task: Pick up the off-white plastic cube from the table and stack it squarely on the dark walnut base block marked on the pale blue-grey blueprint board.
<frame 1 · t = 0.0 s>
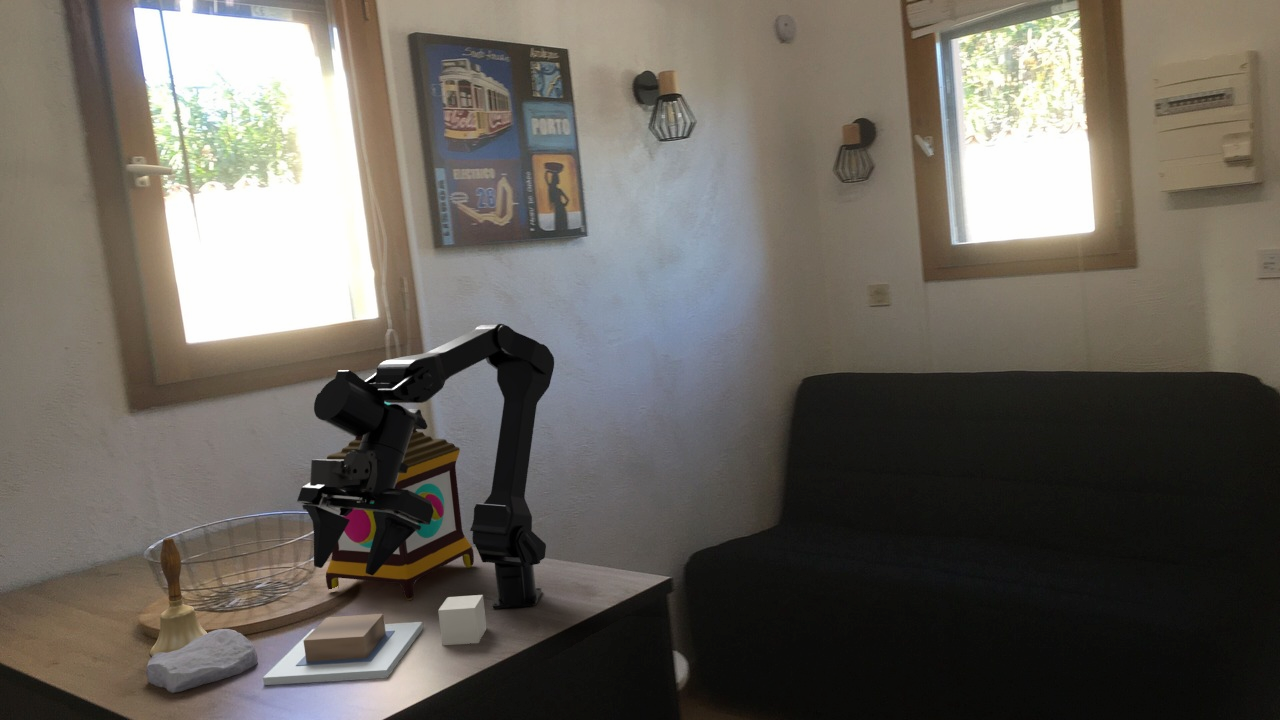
hand: (342, 570, 117), 15 cm above the table, tool tilted 35°, fingers open, 9 cm apart
decorative lantern: (403, 580, 160), on the table
blueprint board: (348, 655, 129), on the table
plastic cube: (464, 637, 132), on the table
stone block: (207, 676, 127), on the table
hand bell: (182, 648, 138), on the table
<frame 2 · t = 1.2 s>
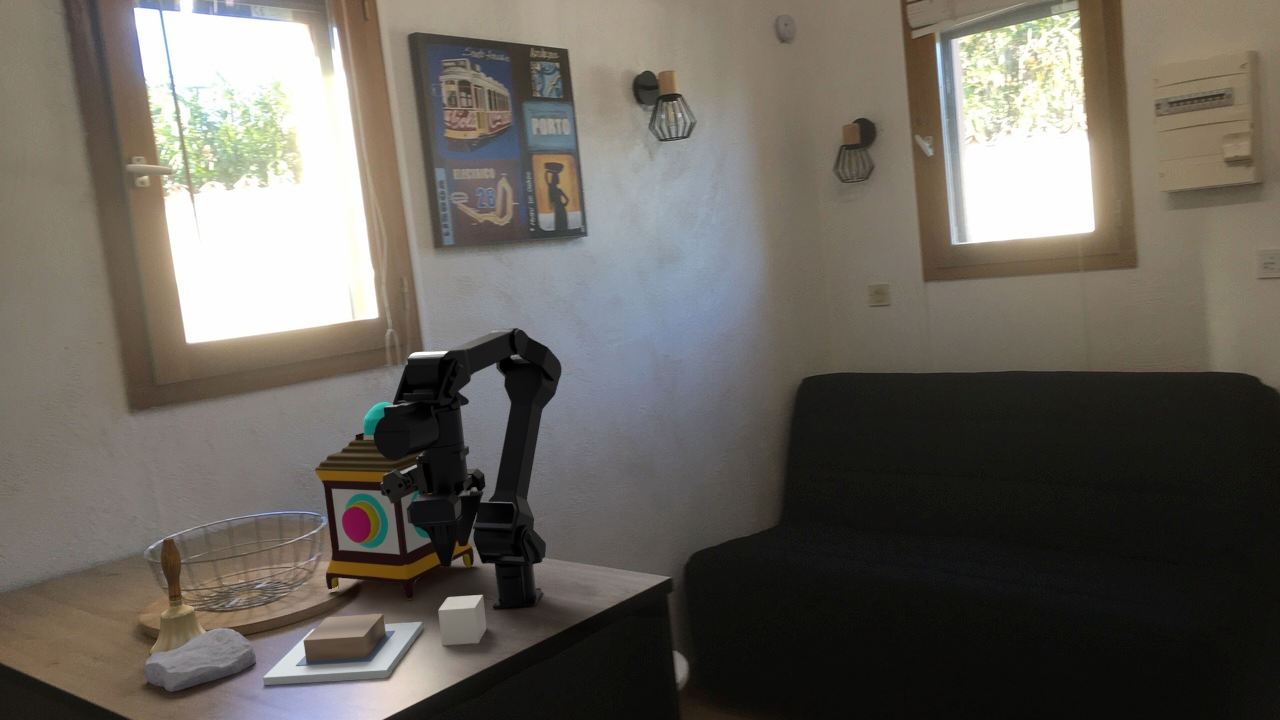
hand: (455, 556, 131), 11 cm above the table, tool pointing down, fingers open, 9 cm apart
nothing on the table moved.
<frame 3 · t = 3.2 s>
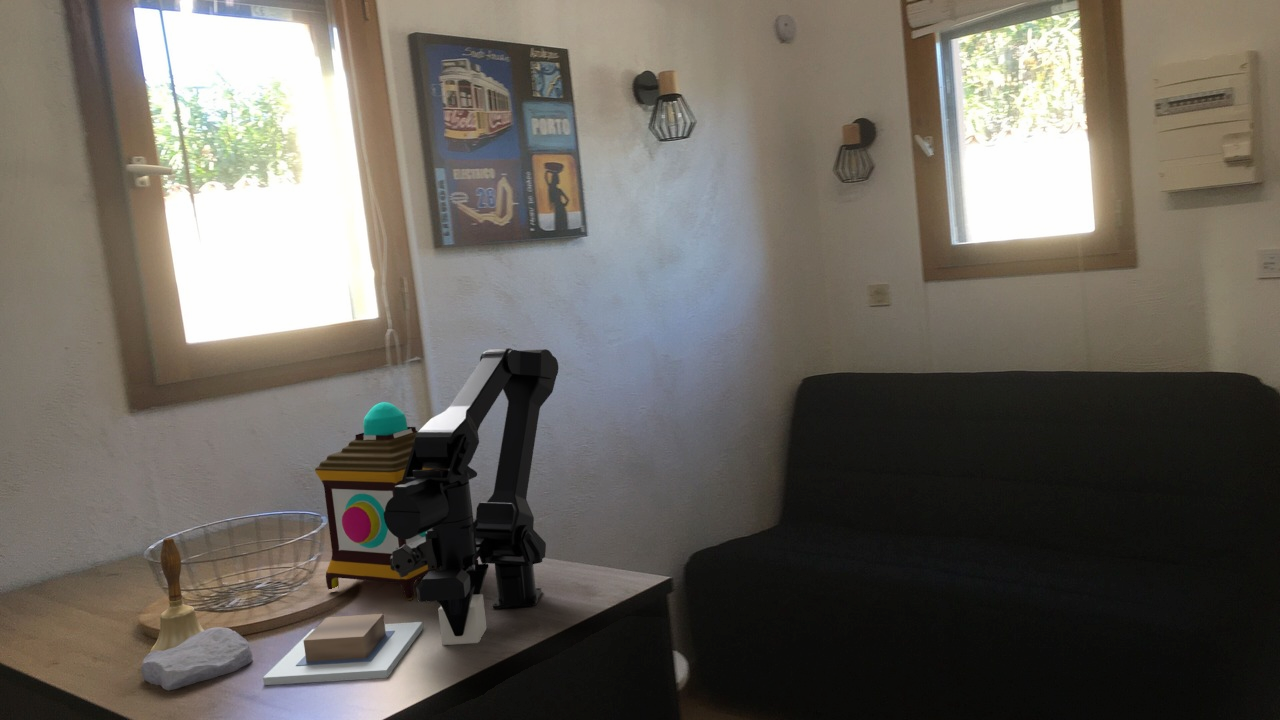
hand: (463, 628, 132), 1 cm above the table, tool pointing down, fingers closed on plastic cube, 5 cm apart
plastic cube: (464, 636, 132), on the table, touching gripper
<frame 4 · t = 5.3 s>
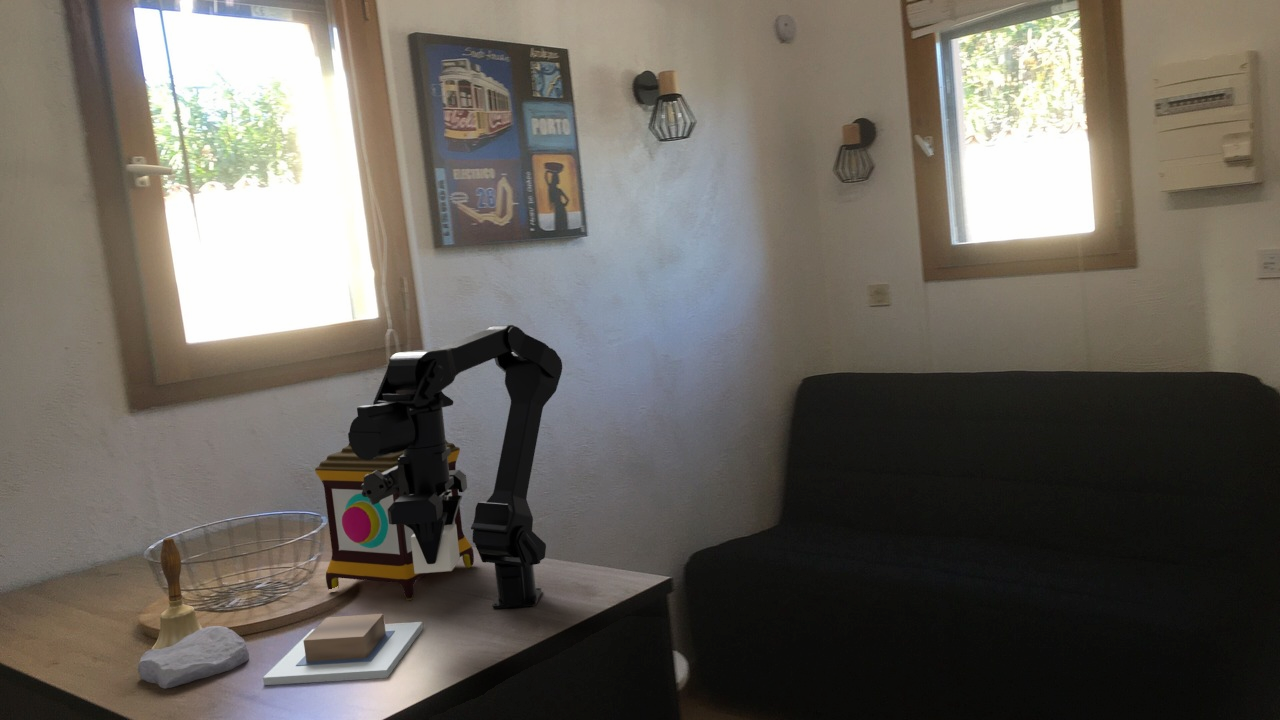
hand: (436, 557, 130), 12 cm above the table, tool pointing down, fingers closed on plastic cube, 5 cm apart
plastic cube: (437, 566, 130), point 10 cm above the table, touching gripper
when the fingers open (7 cm above the table, at t = 7.7 s): plastic cube drops 1 cm, resting on blueprint board.
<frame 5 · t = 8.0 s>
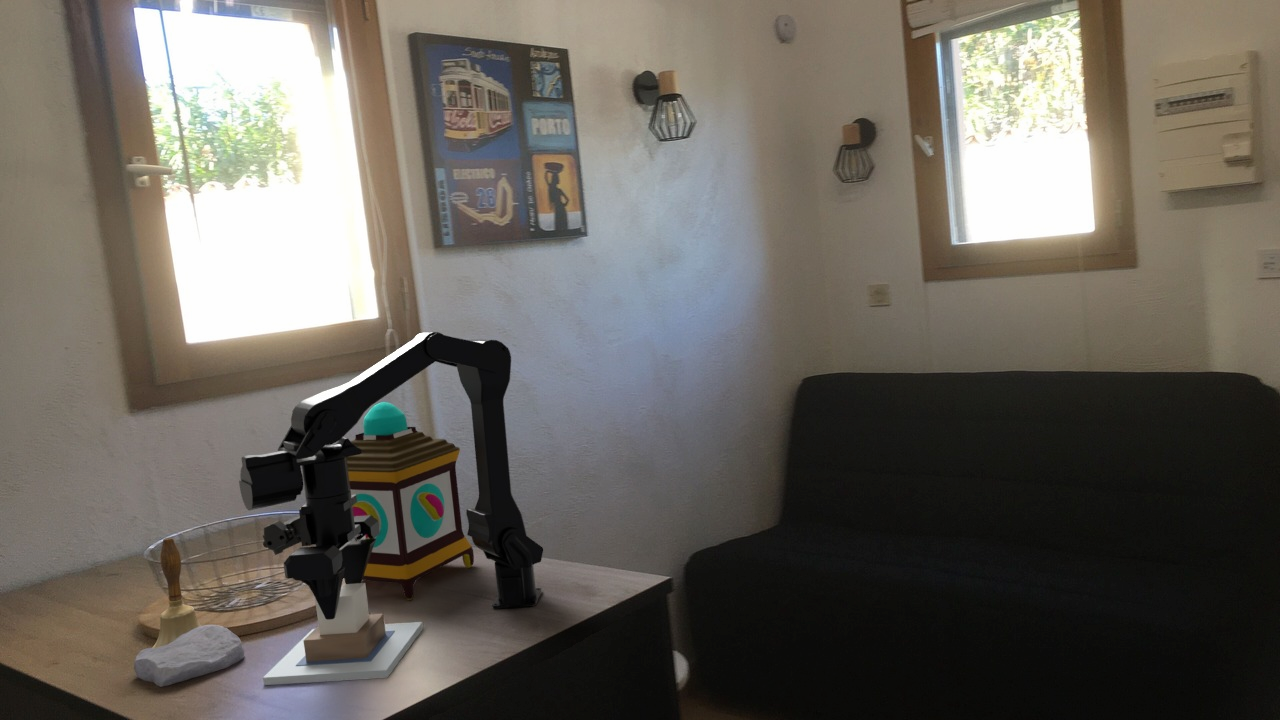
hand: (342, 607, 128), 7 cm above the table, tool pointing down, fingers open, 8 cm apart
plastic cube: (345, 626, 129), point 4 cm above the table, touching blueprint board
stone block: (195, 671, 130), on the table
everything else where it was.
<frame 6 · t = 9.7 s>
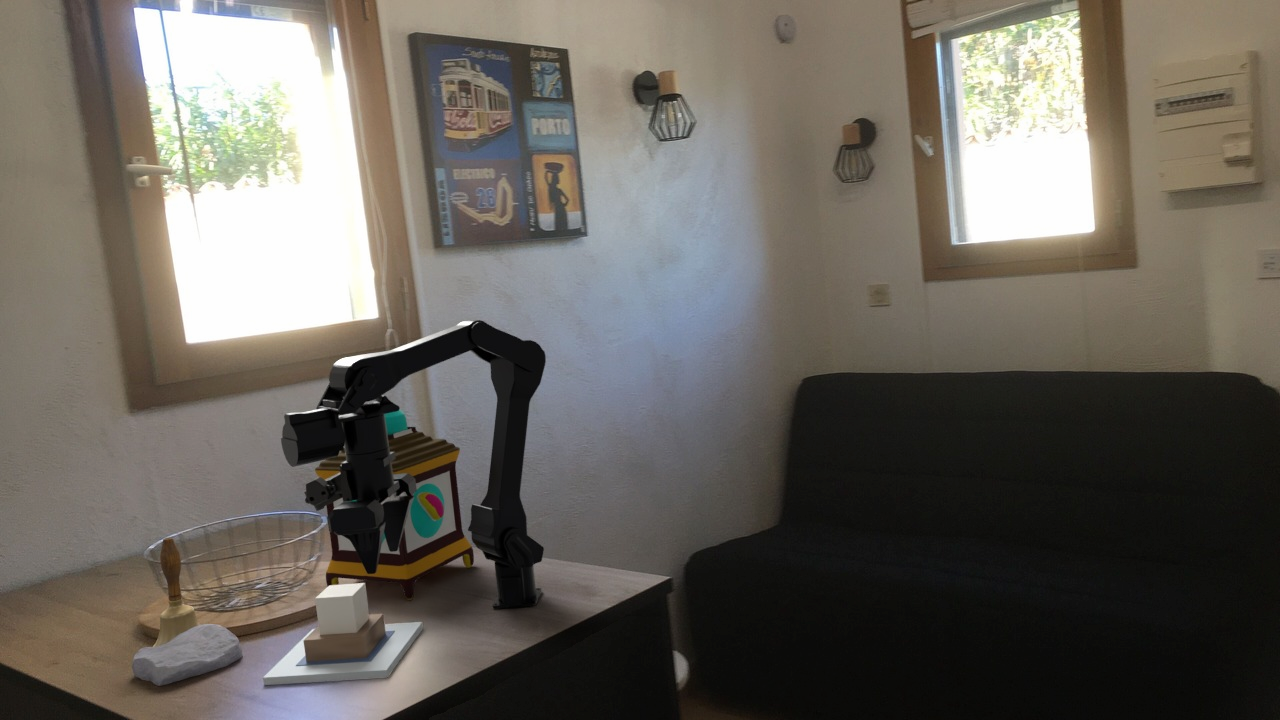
hand: (383, 562, 130), 12 cm above the table, tool pointing down, fingers open, 9 cm apart
nothing on the table moved.
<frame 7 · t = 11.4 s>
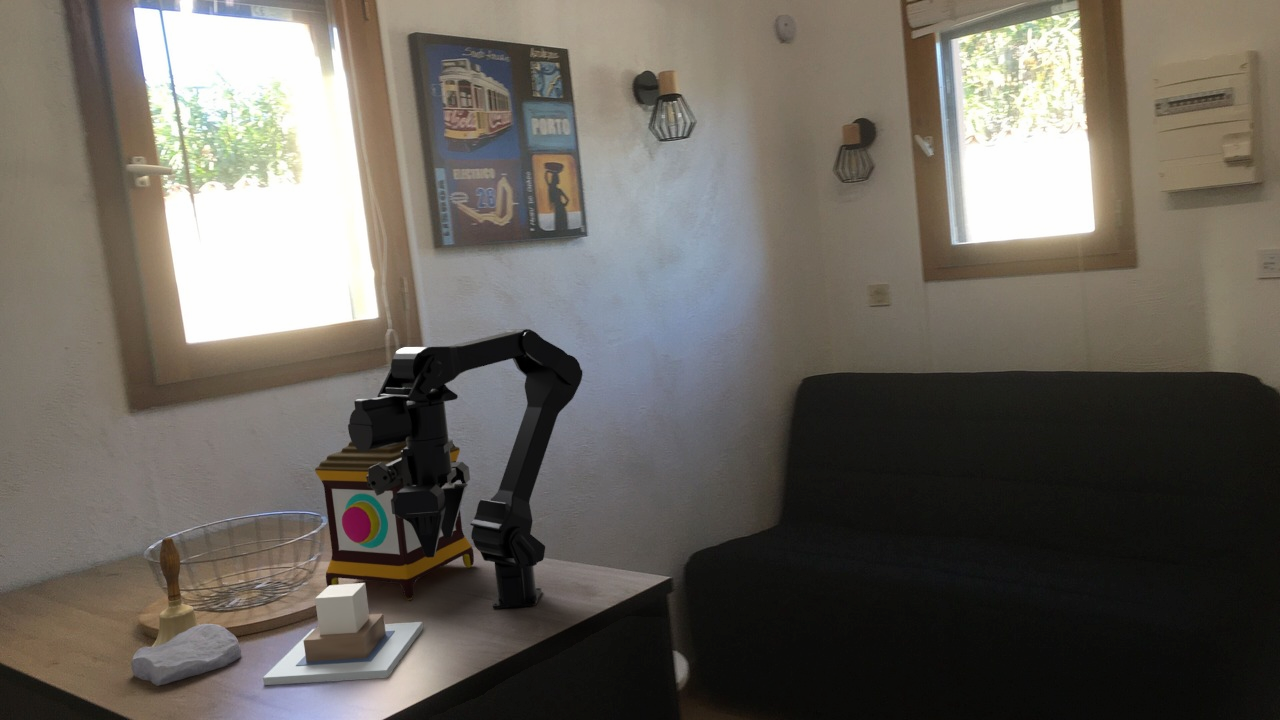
hand: (439, 546, 134), 12 cm above the table, tool pointing down, fingers open, 9 cm apart
nothing on the table moved.
at the end: plastic cube 0.1 cm off-centre on the blueprint board, point 4.0 cm above the blueprint board's base; plastic cube tilted 0°; the gripper is holding nothing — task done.
